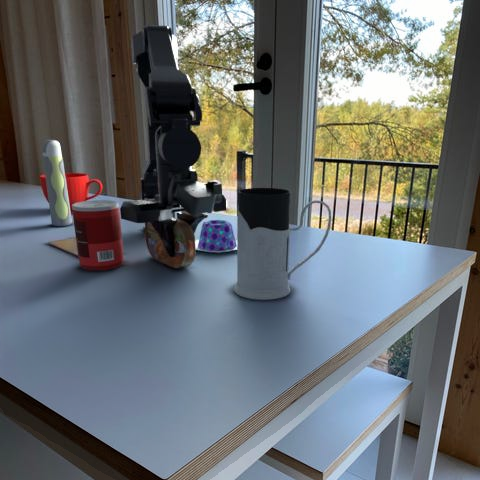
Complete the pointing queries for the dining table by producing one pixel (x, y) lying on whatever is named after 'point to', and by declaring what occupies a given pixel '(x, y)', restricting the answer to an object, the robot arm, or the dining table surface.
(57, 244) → the cork coaster
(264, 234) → the glass holder
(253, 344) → the dining table surface
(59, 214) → the spray bottle
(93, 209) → the canned food
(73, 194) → the ceramic cup
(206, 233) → the pudding
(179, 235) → the tin
